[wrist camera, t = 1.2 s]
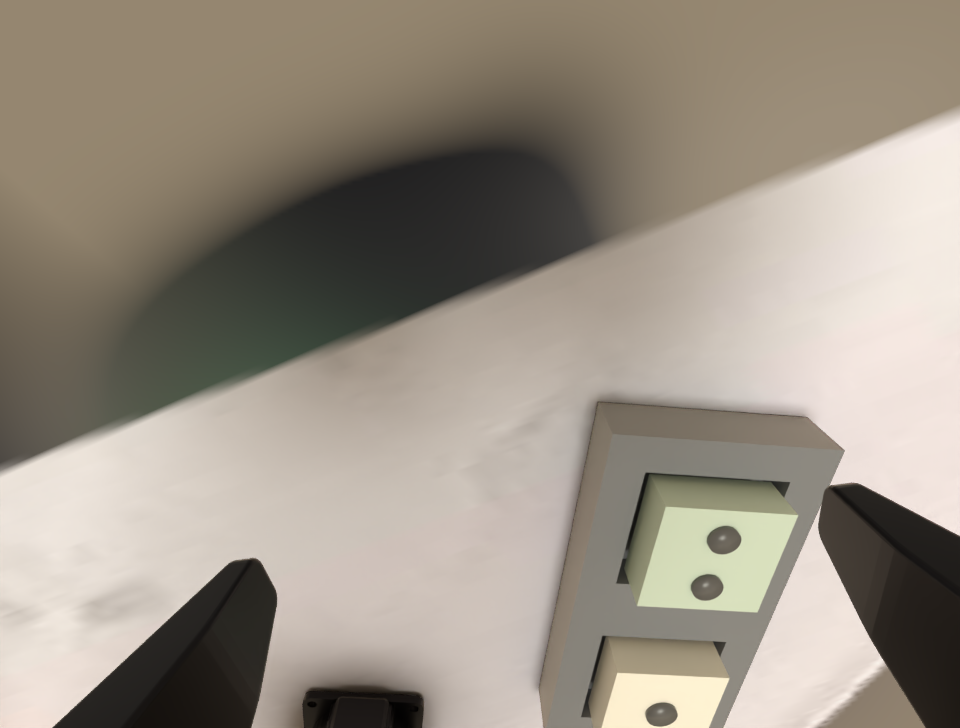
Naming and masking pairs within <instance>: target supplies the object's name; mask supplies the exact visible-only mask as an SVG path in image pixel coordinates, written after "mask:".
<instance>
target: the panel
mask: <svg viewBox="0 0 960 728" xmlns="http://www.w3.org/2000/svg"><path fill="white" fill-rule="evenodd" d="M844 451H845V450H844V449H842V448H841V447H840V446H839V445H838V444H837V443H836V442H835V441H833V440H832V439H831V438H830V437H829V436H828V435H827V434H826V433H824V432H823V431H822V430H821V429H820V428H819V427H818V426H817V425H815V424H814V423H813V422H812V421H811V420H810V419H809V418H807V417H794V416H781V415H767V414H754V413H740V412H727V411H713V410H700V409H686V408H673V407H659V406H646V405H632V404H619V403H605V402H598V405H597V410H596V415H595V420H594V424H593V429H592V434H591V439H590V444H589V449H588V454H587V458H586V463H585V468H584V473H583V478H582V483H581V487H580V492H579V497H578V502H577V507H576V512H575V516H574V521H573V526H572V531H571V536H570V541H569V545H568V550H567V555H566V560H565V565H564V570H563V574H562V579H561V584H560V589H559V594H558V599H557V603H556V608H555V613H554V618H553V623H552V628H551V632H550V637H549V642H548V647H547V652H546V657H545V662H544V666H543V671H542V676H541V681H540V686H539V694H540V702H541V710H542V719H543V727H544V728H593V724H592V719H591V714H590V709H589V704H588V701H589V697H590V694H591V690H592V686H593V682H594V679H595V675H596V671H597V667H598V664H599V660H600V656H601V653H602V649H603V645H604V641H605V638H606V636H618V637H638V638H658V639H677V640H697V641H713V643H714V645H715V648H716V650H717V652H718V654H719V656H720V658H721V660H722V663H723V665H724V667H725V669H726V671H727V673H728V676H729V678H730V679H729V681H728V683H727V686H726V688H725V691H724V693H723V695H722V698H721V700H720V702H719V705H718V707H717V710H716V712H715V714H714V717H713V719H712V721H711V724H710V726H709V728H723V727H724V725H725V722H726V720H727V718H728V715H729V713H730V711H731V709H732V706H733V704H734V702H735V700H736V697H737V695H738V693H739V690H740V688H741V686H742V684H743V681H744V679H745V677H746V674H747V672H748V670H749V668H750V665H751V663H752V661H753V659H754V656H755V654H756V652H757V649H758V647H759V645H760V643H761V640H762V638H763V636H764V633H765V631H766V629H767V627H768V624H769V622H770V620H771V618H772V615H773V613H774V611H775V608H776V606H777V604H778V602H779V599H780V597H781V595H782V592H783V590H784V588H785V586H786V583H787V581H788V579H789V577H790V574H791V572H792V570H793V567H794V565H795V563H796V561H797V558H798V556H799V554H800V551H801V549H802V547H803V545H804V542H805V540H806V538H807V536H808V533H809V531H810V529H811V526H812V524H813V522H814V520H815V517H816V515H817V513H818V510H819V508H820V506H821V504H822V499H823V494H824V490H825V489H826V488H827V487H828V486H829V485H830V483H831V481H832V479H833V476H834V474H835V472H836V469H837V467H838V465H839V463H840V460H841V458H842V456H843V454H844ZM649 474H660V475H674V476H689V477H704V478H719V479H734V480H749V481H764V482H771V483H772V484H773V485H774V486H775V488H776V489H777V490H778V491H779V492H780V494H781V495H782V496H783V497H784V498H785V500H786V501H787V502H788V503H789V504H790V506H791V507H792V508H793V509H794V510H795V512H796V513H797V514H798V517H797V520H796V522H795V525H794V527H793V529H792V532H791V534H790V536H789V539H788V541H787V544H786V546H785V548H784V551H783V553H782V555H781V558H780V560H779V562H778V565H777V567H776V570H775V572H774V574H773V577H772V579H771V581H770V584H769V586H768V589H767V591H766V593H765V596H764V598H763V600H762V603H761V605H760V608H759V610H758V612H738V611H720V610H701V609H683V608H664V607H646V606H637V605H636V602H635V599H634V596H633V593H632V590H631V587H630V584H629V581H628V578H627V575H626V573H625V570H624V567H625V563H626V559H627V555H628V552H629V548H630V544H631V540H632V537H633V533H634V529H635V526H636V522H637V518H638V514H639V511H640V507H641V503H642V499H643V496H644V492H645V488H646V484H647V481H648V477H649Z"/></svg>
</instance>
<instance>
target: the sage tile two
mask: <svg viewBox="0 0 960 728" xmlns="http://www.w3.org/2000/svg"><path fill="white" fill-rule="evenodd" d="M797 517H798V514H797V513H796V512H795V510H794V509H793V508H792V507H791V506H790V504H789V503H788V502H787V501H786V500H785V498H784V497H783V496H782V495H781V494H780V492H779V491H778V490H777V489H776V488H775V486H774V485H773V484H772V483H771V482H764V481H749V480H734V479H719V478H704V477H689V476H674V475H660V474H649V477H648V481H647V484H646V488H645V492H644V496H643V499H642V503H641V507H640V511H639V514H638V518H637V522H636V526H635V529H634V533H633V537H632V540H631V544H630V548H629V552H628V555H627V559H626V563H625V567H624V570H625V573H626V575H627V578H628V581H629V584H630V587H631V590H632V593H633V596H634V599H635V602H636V605H637V606H646V607H664V608H683V609H701V610H720V611H738V612H758V610H759V608H760V605H761V603H762V600H763V598H764V596H765V593H766V591H767V589H768V586H769V584H770V581H771V579H772V577H773V574H774V572H775V570H776V567H777V565H778V562H779V560H780V558H781V555H782V553H783V551H784V548H785V546H786V544H787V541H788V539H789V536H790V534H791V532H792V529H793V527H794V525H795V522H796V520H797Z"/></svg>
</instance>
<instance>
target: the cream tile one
mask: <svg viewBox="0 0 960 728" xmlns="http://www.w3.org/2000/svg"><path fill="white" fill-rule="evenodd" d="M729 679H730V678H729V676H728V673H727V671H726V669H725V667H724V665H723V663H722V660H721V658H720V656H719V654H718V652H717V650H716V648H715V645H714V643H713V641H697V640H677V639H658V638H638V637H618V636H606V638H605V641H604V645H603V649H602V653H601V656H600V660H599V664H598V667H597V671H596V675H595V679H594V682H593V686H592V690H591V694H590V697H589V701H588V704H589V709H590V714H591V719H592V724H593V728H709V726H710V724H711V721H712V719H713V717H714V714H715V712H716V710H717V707H718V705H719V702H720V700H721V698H722V695H723V693H724V691H725V688H726V686H727V683H728V681H729Z"/></svg>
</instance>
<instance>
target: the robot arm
mask: <svg viewBox="0 0 960 728" xmlns="http://www.w3.org/2000/svg"><path fill="white" fill-rule="evenodd" d="M818 529H819V534H820V538H821V540H822V542H823V545H824V547H825V549H826V551H827V553H828V555H829V557H830V559H831V561H832V563H833V565H834V567H835V569H836V571H837V573H838V575H839V577H840V579H841V581H842V583H843V585H844V587H845V589H846V591H847V593H848V595H849V597H850V599H851V601H852V603H853V605H854V607H855V609H856V612H857V614H858V616H859V618H860V620H861V622H862V624H863V625H864V627H865V629H866V631H867V633H868V635H869V637H870V639H871V640H872V642H873V644H874V645H875V647H876V649H877V651H878V652H879V654H880V656H881V657H882V659H883V660H884V662H885V664H886V665H887V667H888V668H889V670H890V672H891V673H892V675H893V676H894V678H895V680H896V681H897V683H898V684H899V686H900V688H901V689H902V691H903V692H904V694H905V695H906V697H907V699H908V700H909V702H910V703H911V705H912V707H913V708H914V710H915V712H916V713H917V715H918V716H919V718H920V719H921V721H922V723H923V724H924V726H925V728H960V536H959V535H957V534H955V533H953V532H951V531H949V530H947V529H945V528H943V527H941V526H940V525H938V524H936V523H934V522H932V521H930V520H928V519H926V518H924V517H922V516H920V515H918V514H917V513H915V512H913V511H911V510H909V509H907V508H905V507H903V506H901V505H899V504H897V503H895V502H894V501H892V500H890V499H888V498H886V497H884V496H882V495H880V494H878V493H876V492H874V491H872V490H871V489H869V488H867V487H865V486H863V485H861V484H858V483H846V484H837V485H830V486H828V487H827V488H826V489H825V490H824V494H823V499H822V505H821V511H820V517H819V523H818ZM276 607H277V594H276V590H275V588H274V586H273V584H272V582H271V580H270V578H269V576H268V574H267V573H266V571H265V569H264V567H263V565H262V563H261V562H260V561H259V560H258V559H256V558H250V559H242V560H235V561H232V562H230V563H229V564H228V565H227V566H226V567H224V568H223V569H222V570H221V571H220V572H219V573H218V574H217V575H216V576H215V577H214V578H213V579H212V580H210V581H209V582H208V583H207V584H206V585H205V586H204V587H203V588H202V589H201V590H200V591H199V592H198V593H197V594H195V595H194V596H193V597H192V598H191V599H190V600H189V601H188V602H187V603H186V604H185V605H184V606H183V607H181V608H180V609H179V610H178V611H177V612H176V613H175V614H174V615H173V616H172V617H171V618H170V619H169V620H168V621H166V622H165V623H164V624H163V625H162V626H161V627H160V628H159V629H158V630H157V631H156V632H155V633H154V634H152V635H151V636H150V637H149V638H148V639H147V640H146V641H145V642H144V643H143V644H142V645H141V646H140V647H139V648H137V649H136V650H135V651H134V652H133V653H132V654H131V655H130V656H129V657H128V658H127V659H126V660H125V661H123V662H122V663H121V664H120V665H119V666H118V667H117V668H116V669H115V670H114V671H113V672H112V673H111V674H110V675H108V676H107V677H106V678H105V679H104V680H103V681H102V682H101V683H100V684H99V685H98V686H97V687H96V688H94V689H93V690H92V691H91V692H90V693H89V694H88V695H87V696H86V697H85V698H84V699H83V700H82V701H81V702H79V703H78V704H77V705H76V706H75V707H74V708H73V709H72V710H71V711H70V712H69V713H68V714H67V715H65V716H64V717H63V718H62V719H61V720H60V721H59V722H58V723H57V724H56V725H55V726H54V727H53V728H251V726H252V723H253V719H254V716H255V712H256V708H257V704H258V701H259V696H260V692H261V687H262V682H263V677H264V671H265V666H266V661H267V655H268V650H269V645H270V639H271V634H272V628H273V623H274V618H275V612H276ZM423 709H424V700H423V699H422V698H421V697H419V696H411V695H389V694H366V693H344V692H321V691H310V692H308V693H306V694H305V697H304V700H303V718H304V728H422V722H423Z"/></svg>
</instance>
